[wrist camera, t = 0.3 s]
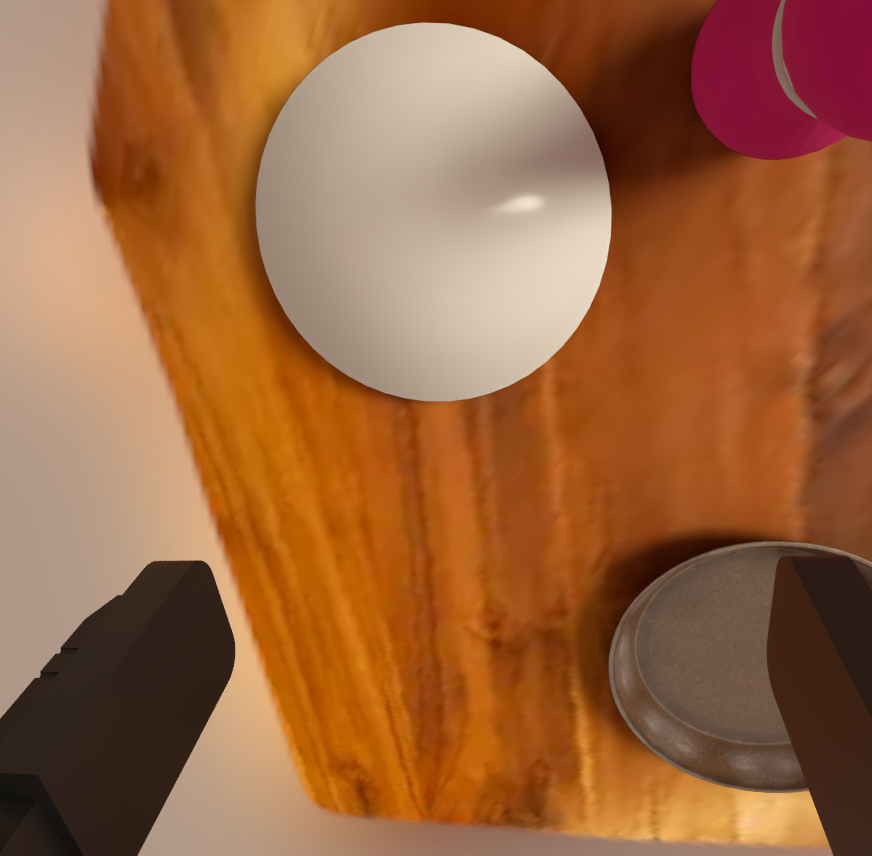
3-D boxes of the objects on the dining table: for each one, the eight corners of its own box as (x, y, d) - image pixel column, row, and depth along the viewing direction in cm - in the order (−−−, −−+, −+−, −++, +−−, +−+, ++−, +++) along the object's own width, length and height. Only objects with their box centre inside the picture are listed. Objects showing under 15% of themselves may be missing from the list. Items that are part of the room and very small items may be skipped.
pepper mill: (648, 52, 30) (735, -81, 12) (808, -70, 28) (1221, -470, 10) (727, 190, 32) (910, 251, 14) (887, 87, 29) (1373, -5, 11)
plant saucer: (748, 457, 37) (762, 482, 34) (999, 637, 38) (1031, 676, 35) (550, 648, 44) (548, 682, 42) (764, 794, 45) (775, 836, 43)
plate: (253, 35, 34) (236, 29, 32) (629, 21, 30) (631, 15, 29) (285, 380, 40) (272, 390, 39) (593, 401, 37) (594, 413, 35)
